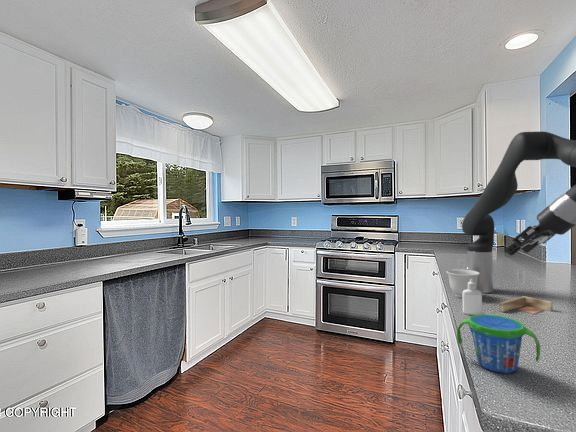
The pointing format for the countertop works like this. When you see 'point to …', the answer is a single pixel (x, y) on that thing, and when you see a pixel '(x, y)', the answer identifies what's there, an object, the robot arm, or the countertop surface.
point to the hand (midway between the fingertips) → (516, 251)
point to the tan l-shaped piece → (526, 302)
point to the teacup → (461, 280)
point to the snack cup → (497, 341)
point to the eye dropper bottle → (472, 300)
